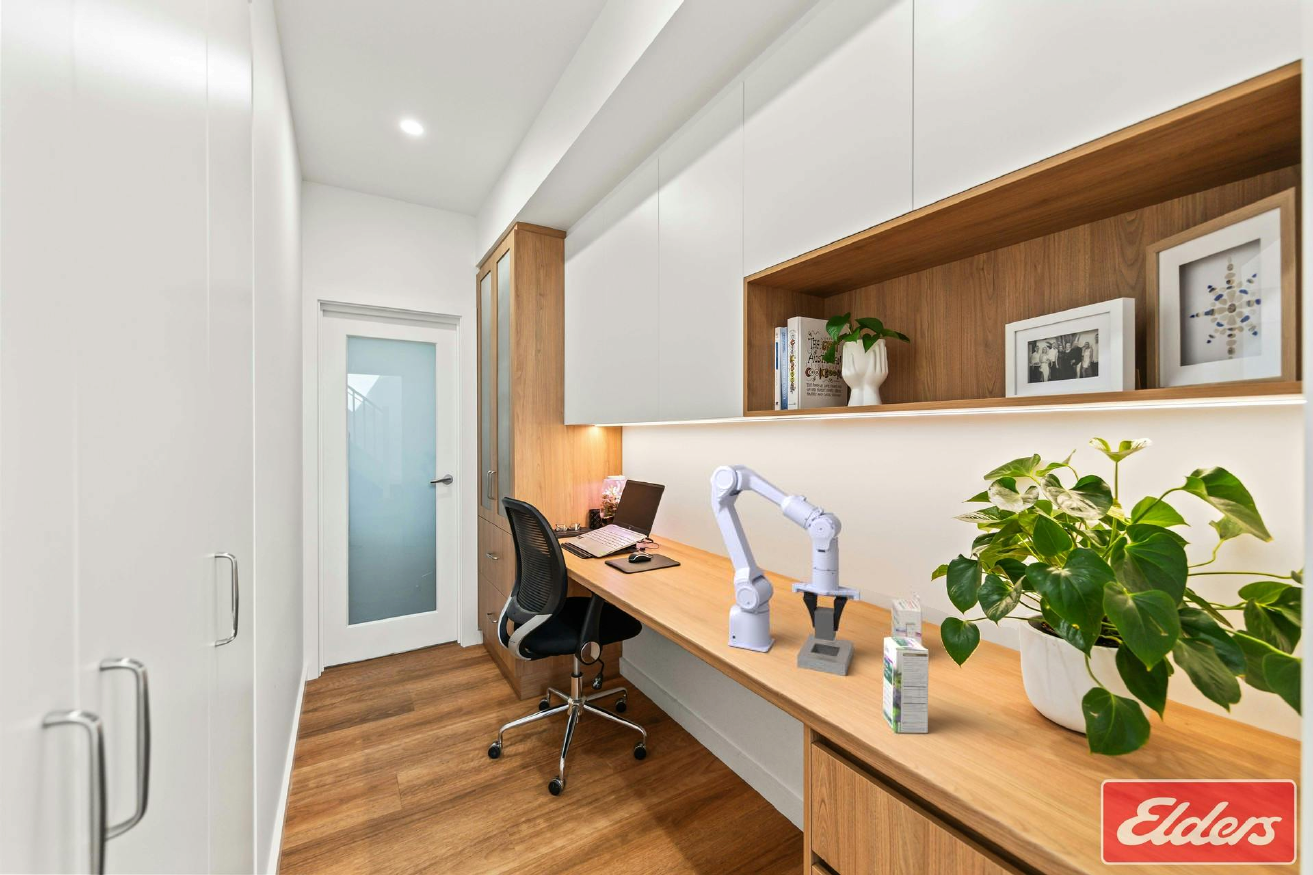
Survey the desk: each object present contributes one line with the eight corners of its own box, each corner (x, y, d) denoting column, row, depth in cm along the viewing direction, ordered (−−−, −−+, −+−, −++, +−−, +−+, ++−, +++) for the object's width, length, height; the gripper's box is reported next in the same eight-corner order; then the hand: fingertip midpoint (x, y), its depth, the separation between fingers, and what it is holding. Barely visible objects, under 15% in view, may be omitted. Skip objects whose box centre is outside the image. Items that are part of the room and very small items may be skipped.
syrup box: (881, 716, 96) (881, 636, 96) (914, 716, 96) (914, 636, 96) (894, 733, 90) (894, 648, 90) (930, 734, 90) (930, 649, 90)
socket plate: (797, 666, 117) (797, 653, 117) (809, 644, 129) (809, 632, 129) (845, 676, 112) (845, 662, 112) (853, 651, 125) (853, 639, 125)
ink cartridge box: (890, 646, 128) (890, 585, 128) (912, 647, 127) (912, 586, 127) (898, 661, 119) (898, 595, 119) (922, 663, 118) (922, 597, 118)
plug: (814, 638, 119) (814, 611, 119) (818, 631, 122) (817, 606, 122) (833, 641, 117) (833, 614, 117) (836, 634, 120) (836, 608, 120)
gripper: (788, 568, 119) (789, 628, 119) (857, 575, 113) (857, 639, 113) (795, 561, 126) (796, 618, 126) (861, 568, 119) (861, 628, 119)
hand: (825, 627), depth 120 cm, fingers closed on plug, 4 cm apart
